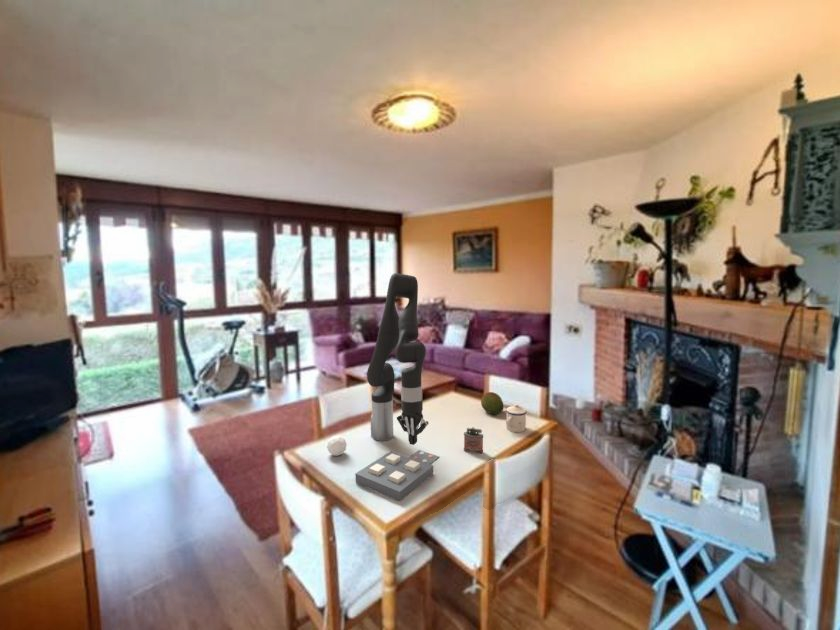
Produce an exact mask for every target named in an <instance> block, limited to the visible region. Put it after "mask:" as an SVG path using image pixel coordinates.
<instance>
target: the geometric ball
mask: <svg viewBox="0 0 840 630" xmlns="http://www.w3.org/2000/svg"><path fill="white" fill-rule="evenodd" d="M326 446H327V447H326V449H327V451H328V453H329V454H331V456H336V457H338V456H340V455H342V454H344V453H345V451H346V450H347V446H348V444H347V441H346V439H345V438H344V437H343V436H341V435H334V436H332V437H330V438H329V440H328V441H327V445H326Z"/></svg>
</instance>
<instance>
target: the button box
mask: <svg viewBox="0 0 840 630" xmlns="http://www.w3.org/2000/svg"><path fill="white" fill-rule="evenodd" d="M391 454H395V455H398V456H400V457H401V461H400V462H398V463H397V464H395V465H392V464H389V463H386V457H387V456H389V455H391ZM410 460H413V461H416V462H418V463H420V468H419V469H418V470H417V471H415V472H411V471H408V470H406V469H405V464H406V463H408V462H409V461H410ZM375 464H380V465H382V466H385V472H384V473H382V474H381V475H379V476H376V475H373V474H371V473H369V468H370V467H372V466H373V465H375ZM395 471H398V472H401V473H404V474H405V480H403V481H402V482H401V483H399V484H396V483H393V482H391V481H389V475H391V474H392V473H393V472H395ZM433 475H434V465H432V464H427V463H424V462H422V461H419V460H416V459H413V458H410V457H409V456H406V455H404V454H401V453H398V452H395V451H393V450H390V451H389V452H387V453H386V454H384V455H382V456H381V457H379V458H378V459H376V460H375V461H373V462H371V463H370V464H368V465H366V466H365V467H363V468H362V469H360V470H359V471H357V472H356V473H355V476H354V477H355V483H356V484H357V485H360V486H363V487H364V488H367V489H369V490H372V491H374V492H376V493H379V494H381V495H383V496H385V497H388V498H391V499H393V500H395V501H398V502H401V501H403V500H404V499H405V498H407V496H409V495H410V494H412V492H414V491H415V490H416V489H418V488H419V487H420V486H421V485H422V484H423V483H425V482H426V481H427V480H429V479H430V478H431V477H433ZM429 477H430V478H429Z"/></svg>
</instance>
